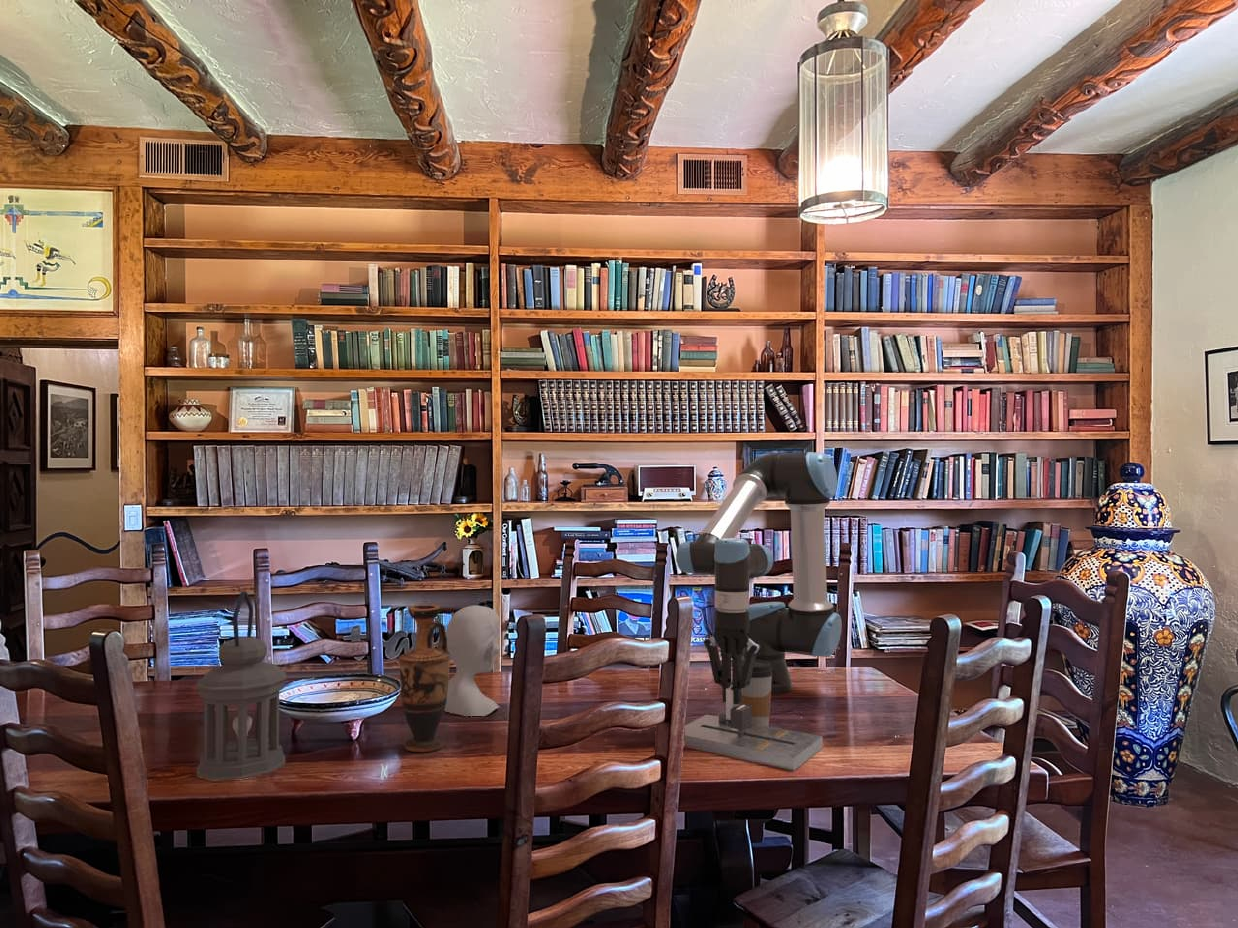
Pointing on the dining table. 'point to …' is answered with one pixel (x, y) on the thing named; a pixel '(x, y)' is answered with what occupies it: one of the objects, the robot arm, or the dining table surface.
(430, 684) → the vase
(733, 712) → the fader
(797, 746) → the console
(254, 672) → the lantern
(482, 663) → the head bust
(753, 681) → the coffee cup
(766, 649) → the robot arm
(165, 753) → the dining table surface
